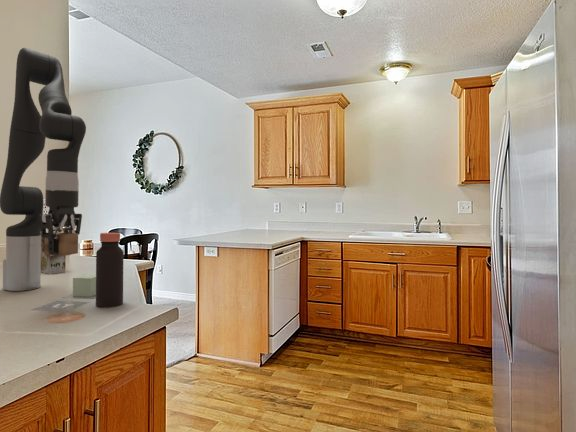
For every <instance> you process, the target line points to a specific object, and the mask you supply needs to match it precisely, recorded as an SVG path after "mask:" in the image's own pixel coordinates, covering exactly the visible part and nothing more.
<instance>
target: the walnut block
mask: <svg viewBox="0 0 576 432" xmlns="http://www.w3.org/2000/svg"><path fill="white" fill-rule="evenodd" d="M54 234H55V233H54ZM57 240H59V252H58V254H49V251H48V239H47V238H45V245H44V255H56V256H70V255H71V256H72V255H76V254H79V235H78V233H64V232H60V234H59V238H58V239H57Z"/></svg>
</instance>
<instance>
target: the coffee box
mask: <svg viewBox="0 0 576 432" xmlns="http://www.w3.org/2000/svg"><path fill="white" fill-rule="evenodd" d="M54 233H55V231H54ZM44 245H45V238H44V237H42V236H41V273H42V272H43V274H49V275H53V274H60V273H61V272H62V273H66V261H67V260H66V256H67V255H66V256H56V255H44Z"/></svg>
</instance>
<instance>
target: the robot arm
mask: <svg viewBox="0 0 576 432" xmlns="http://www.w3.org/2000/svg"><path fill="white" fill-rule="evenodd" d="M30 82H31V83H36V84H38V85H43V87H42V88H41V89H40V90H39V93H38V103H39V106H40V109H41V113H40V111H39V110H38V108H37V105H36V104H35V101H34V100H33V97H32V92H31V85H30V84H31V83H30ZM14 88H15V89H14V103H13V110H12V117H11V121H10V122H11V123H10V128H9V138H8V148H7V149H8V150H7V158H6V166H5V171H4V176H3V180H2V184H1V189H0V211H1V212H2V213H3V214H4V215H9V216H10V215H11V216H18V215H19V216H22V215H23V216H25V217H24V219H23V220H21V221H20V222H18V223H16V224H12V225H10V226H7V228H6V229H5V259H3V260H2V290H4V291H9V292H21V291H30V290H37V289H39V288H41V275H42V274H41V273H42V272H41V236H42V237H44V238H47V239H48V251H49V254H58V252H59V240H57V239H58V238H59V234H60V233H78V236H79V235H80V233H81V227H82V221H83V220H82V219H83V215H82V213H76V212H75V208H78V207H79V193H80V192H79V186H80V184H79V176H78V175H79V174H78V172H79V169H78V168H79V164H78V163H79V155H80V150H81V147H82V144H83V142H84V138H85V135H86V132H87V126H86V125H87V124H86V122H85V121H84V120H83V119H82V118H81V117H80V116H77V115H72V113H73V112H72V108H71V105H70V103H69V100H68V98H67V96H66V90H65V79H64V73H63V67H62V64H61V62H60V60H59V59H58V58H56V57H55V56H52V55H49V54H46V53H44V52H40V51H37V50H33V49H32V48H27V47H23V48H22V47H21V49H20V50H19V51H18V54H17V58H16V68H15V87H14ZM46 139H48V140H55V141H63V142H68V145H67V146H66V147H65V148H64V147H63V148H53V149H49V150H48V151H47V153H46V154H47V156H46V177H45V199H44V195H43V191H42V190H41V189H40V188H39V187H35V186H24V185H22V186H21V184H20V183H21V181H22V178H23V176H24V174H25V172H26V170H28V168H29V167H30V166H31V165H32V164H33V163H34V162H35V161H36V160H37V159H38V158H39V156H41V154H42V153H43V152H44V149H45V146H46V145H45V144H46ZM44 200H45V207H47V208H49V209H48V212H47V213H45V214H43V213H44ZM54 232H55V234H54Z"/></svg>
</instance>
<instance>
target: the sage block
mask: <svg viewBox="0 0 576 432" xmlns="http://www.w3.org/2000/svg"><path fill="white" fill-rule="evenodd" d="M72 294H73V296H76V297H92V296H94V295H96V274H82V275H79V276H75V277H73V278H72Z"/></svg>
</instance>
